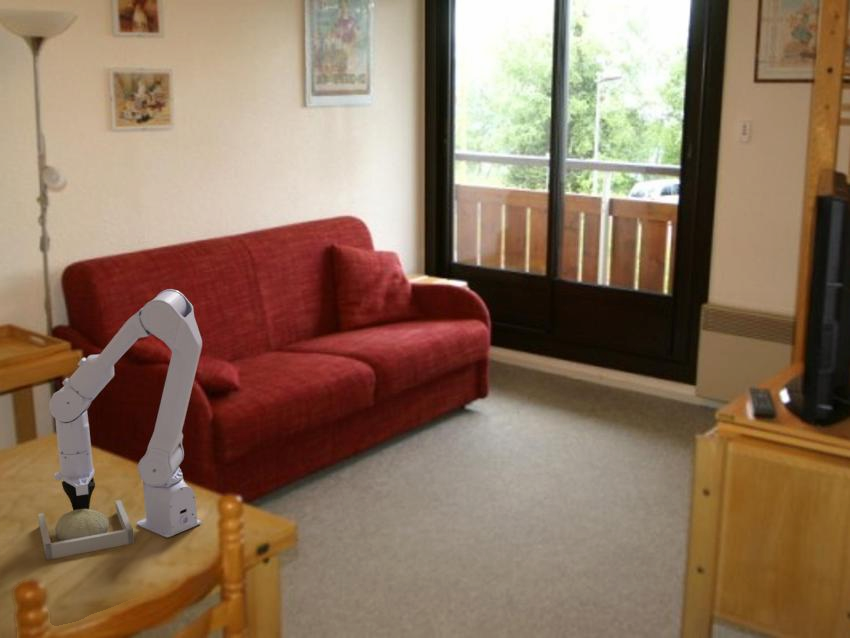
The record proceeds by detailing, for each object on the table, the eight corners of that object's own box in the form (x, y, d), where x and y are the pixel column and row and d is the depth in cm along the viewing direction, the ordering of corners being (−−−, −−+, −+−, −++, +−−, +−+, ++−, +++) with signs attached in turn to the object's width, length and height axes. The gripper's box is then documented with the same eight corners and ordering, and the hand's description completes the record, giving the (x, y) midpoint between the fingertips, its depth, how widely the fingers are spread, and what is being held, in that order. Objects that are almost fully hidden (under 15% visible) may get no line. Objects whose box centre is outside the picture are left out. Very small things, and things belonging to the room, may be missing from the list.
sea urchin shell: (98, 540, 187) (65, 508, 187) (72, 566, 189) (40, 536, 189) (121, 518, 196) (90, 488, 195) (96, 544, 198) (65, 514, 198)
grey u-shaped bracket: (134, 543, 190) (133, 530, 189) (46, 559, 184) (45, 546, 183) (121, 511, 203) (120, 499, 202) (39, 526, 197) (38, 514, 196)
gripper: (48, 440, 199) (55, 506, 202) (55, 465, 186) (63, 536, 189) (87, 434, 202) (93, 500, 205) (97, 459, 189) (103, 529, 192)
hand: (81, 517), depth 197 cm, fingers closed
